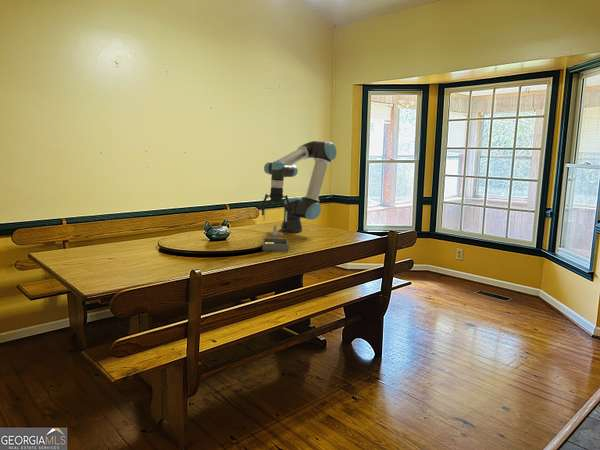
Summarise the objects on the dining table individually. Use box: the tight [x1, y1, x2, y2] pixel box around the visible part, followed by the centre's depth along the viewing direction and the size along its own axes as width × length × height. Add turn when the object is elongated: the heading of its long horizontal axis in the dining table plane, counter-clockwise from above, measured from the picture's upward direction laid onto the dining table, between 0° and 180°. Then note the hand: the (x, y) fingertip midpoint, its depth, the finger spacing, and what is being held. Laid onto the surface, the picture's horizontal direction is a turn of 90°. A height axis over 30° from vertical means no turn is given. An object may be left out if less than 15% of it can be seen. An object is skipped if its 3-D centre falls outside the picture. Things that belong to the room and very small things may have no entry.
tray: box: [262, 237, 290, 253], centre depth 263 cm, size 15×15×4 cm
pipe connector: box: [266, 225, 284, 238], centre depth 278 cm, size 10×10×10 cm
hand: (274, 221), depth 276 cm, fingers open, 13 cm apart
